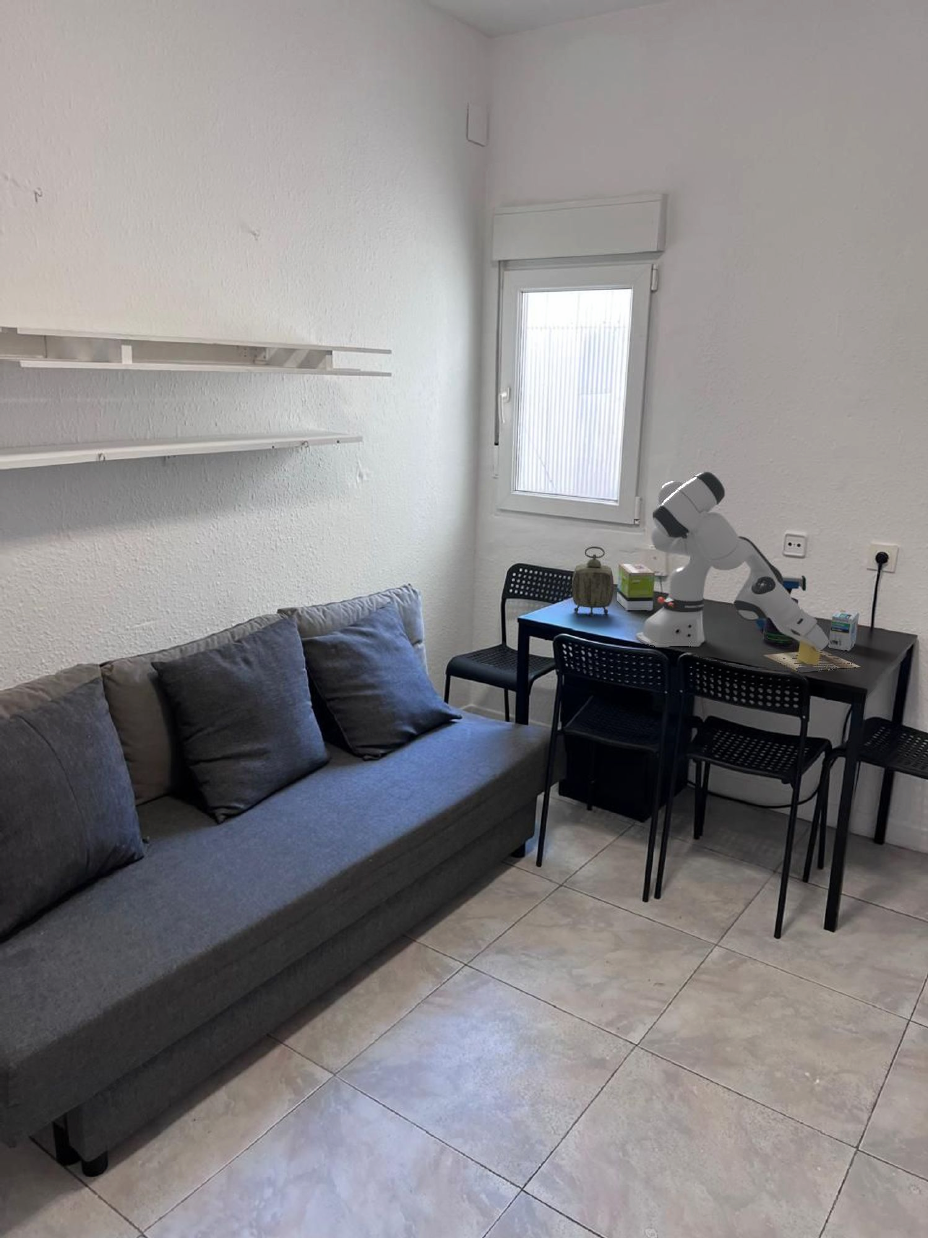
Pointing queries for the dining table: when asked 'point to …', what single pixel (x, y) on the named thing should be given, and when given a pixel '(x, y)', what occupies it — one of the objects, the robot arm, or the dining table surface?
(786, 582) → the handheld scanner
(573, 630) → the dining table surface
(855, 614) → the light bulb box
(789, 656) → the plywood sheet
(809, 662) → the yellow rectangular block
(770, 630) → the storage jar
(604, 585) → the tabletop clock
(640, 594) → the tea box
